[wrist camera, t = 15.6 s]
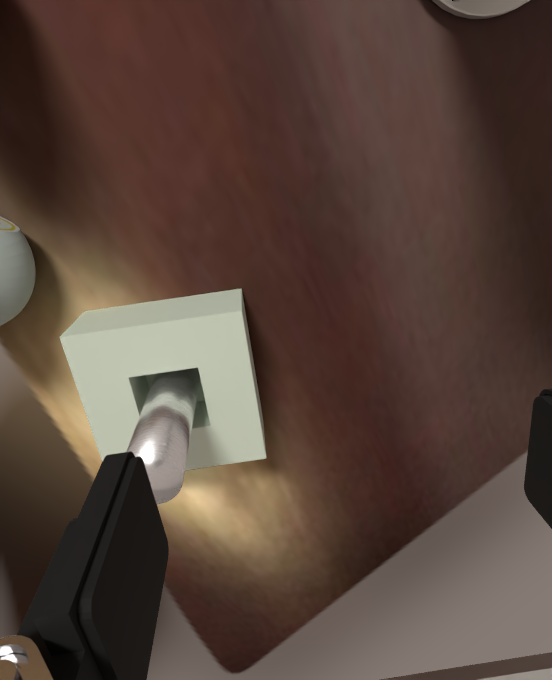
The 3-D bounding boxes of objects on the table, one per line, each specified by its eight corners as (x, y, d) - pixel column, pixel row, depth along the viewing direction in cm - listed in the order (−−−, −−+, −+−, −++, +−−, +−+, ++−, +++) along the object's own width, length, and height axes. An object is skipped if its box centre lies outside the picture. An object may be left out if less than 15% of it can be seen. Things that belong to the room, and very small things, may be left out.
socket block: (241, 288, 40) (241, 310, 35) (263, 421, 46) (266, 458, 40) (84, 311, 40) (59, 337, 34) (125, 441, 45) (109, 482, 40)
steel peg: (195, 354, 41) (175, 449, 28) (204, 392, 42) (188, 499, 29) (151, 360, 41) (110, 459, 28) (161, 399, 42) (127, 508, 29)
